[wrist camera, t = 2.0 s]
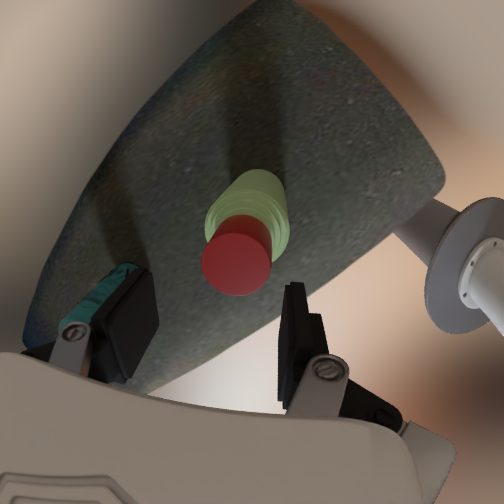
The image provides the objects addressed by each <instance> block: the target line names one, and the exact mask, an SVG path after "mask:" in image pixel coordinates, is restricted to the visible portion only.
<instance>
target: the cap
mask: <svg viewBox="0 0 504 504" xmlns="http://www.w3.org/2000/svg"><path fill="white" fill-rule="evenodd" d="M201 265H202V270H203V273H204V276H205V277H206V279H207V280H208V282H209V283H210V284H211V285H212V286H213V287H214V288H216V289H217V290H219V291H221V292H223V293H225V294H229V295H234V296H242V295H248V294H251V293H253V292H255V291H257V290H258V289H260V288H261V287H262V286H263V285H264V284H265V282H266V281H267V279H268V277H269V274H270V269H271V267H272V238H271V234H270V232H269V230H268V228H267V227H266V225H265V224H264V223H263V222H262V221H260V220H259V219H257V218H255V217H253V216H250V215H245V214H239V215H234V216H231V217H229V218H227V219H225V220H224V221H223V222H222V223H221V224H220V225H219V226H218V228H217V229H216V231H215V233H214V234H213V236H212V237H211V239H210V241H209V242H208V244H207V245H206V247H205V249H204V251H203V254H202V258H201Z"/></svg>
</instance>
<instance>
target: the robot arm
mask: <svg viewBox="0 0 504 504" xmlns="http://www.w3.org/2000/svg"><path fill="white" fill-rule="evenodd" d="M458 293H459V297H460V299H461V301H462V302H463V303H464V304H465V305H466V306H467V307H469V308H472V309H478V308H480V309H481V310H482V311H483V312H484V313H485V314H486V315H487V317H488V318H489V319H490V320H491V321H492V322H493V324H494V325H495V326H496V327H497V328H498V330H499V331H500V332H501V334H502V335H503V336H504V241H503V240H502V239H500V238H497V237H491V238H488V239H485V240H484V241H482V242H481V243H479V244H478V245H477V246H476V247H475V248H474V249H473V251H472V252H471V253H470V255H469V256H468V258H467V259H466V261H465V263H464V265H463V267H462V270H461V273H460V277H459V282H458ZM158 326H159V317H158V311H157V305H156V298H155V291H154V284H153V276H152V273H151V272H149V271H148V269H144V268H135V269H134V270H133V271H132V272H131V273H130V274H129V275H128V276H127V277H126V278H125V279H124V280H123V281H122V283H121V284H120V285H119V286H118V287H117V288H116V289H115V290H114V291H113V293H112V294H111V295H110V296H109V297H108V298H107V299H106V300H105V302H104V303H103V304H102V305H101V306H100V307H99V308H98V310H97V311H96V312H95V313H94V314H93V315H92V317H91V321H90V322H89V324H87V323H86V322H83V321H75V322H71V323H69V324H67V325H65V326H64V327H63V328H62V329H61V330H60V332H59V335H58V337H57V340H56V341H54V342H51V343H48V344H44V345H41V346H38V347H35V348H31V349H28V350H25V351H23V352H21V353H20V354H18V353H11V352H0V504H434V502H435V500H436V498H437V496H438V495H439V493H440V491H441V489H442V487H443V485H444V482H445V481H446V478H447V476H448V474H449V472H450V470H451V467H452V465H453V463H454V460H455V457H456V448H455V446H454V444H453V443H452V442H451V441H449V440H448V439H446V438H444V437H442V436H440V435H438V434H435V433H434V432H431V431H430V430H428V429H426V428H424V427H422V426H420V425H418V424H416V423H414V422H412V421H409V422H408V423H407V422H405V421H403V419H402V415H401V413H400V412H399V410H398V409H397V408H395V407H394V406H393V405H391V404H390V403H388V402H386V401H384V400H383V399H381V398H379V397H378V396H376V395H375V394H373V393H371V392H370V391H368V390H366V389H365V388H363V387H361V386H360V385H358V384H357V383H355V382H354V381H352V380H350V379H349V378H348V377H349V367H348V364H347V363H346V362H345V361H344V360H343V359H341V358H340V357H338V356H335V355H332V354H329V350H328V346H327V340H326V335H325V331H324V326H323V322H322V317H321V314H316V313H309V310H308V304H307V298H306V292H305V286H304V283H302V282H290V285H285V291H284V299H283V307H282V314H281V322H280V329H279V337H278V401H283V409H286V410H287V411H286V414H285V415H283V414H268V413H256V412H245V411H236V410H235V411H234V410H227V409H219V408H212V407H206V406H199V405H194V404H188V403H182V402H177V401H172V400H167V399H163V398H158V397H154V396H150V395H146V394H141V393H138V392H134V391H130V390H126V389H123V388H119V387H116V386H112V382H117V383H120V384H124V385H125V383H126V382H127V380H128V378H129V379H131V378H132V376H133V374H134V372H135V370H136V368H137V366H138V365H139V363H140V361H141V359H142V357H143V355H144V353H145V351H146V349H147V348H148V346H149V344H150V342H151V340H152V338H153V336H154V335H155V333H156V331H157V329H158Z"/></svg>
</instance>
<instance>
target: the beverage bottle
mask: <svg viewBox="0 0 504 504" xmlns="http://www.w3.org/2000/svg"><path fill="white" fill-rule="evenodd" d="M135 268H139V267H137V266H136V265H133V264H129V263H125V264H121V265H120V264H119V266H116V268H115V269H114V270H113V269H112V270H111V272H110V273H109V274H108V275H106V276H105V277H104V278H103V279H102V280H101V282H99V284H98V285H97V286H96V287H95V288H94V289H93V290H92V291H91V292H90V291H89V292H90V293H87V296H86V297H84V299H83V298H82V299H83V300H82V301H81V302H80V303H79V302H78V303H79V304H78V303H77V304H78V305H77V306H76V307H75V308H74V309H73V310H72V311H71V312H70V313H69V314H68V315H67V316H66V317H65V318H63V319H62V320H61V322H60V324H59V332H60V330H61V329H62V328H63V327H64V326H65V325H67V324H69V323H71V322H75V321H83V322H86V323H87V324H89V322H90V321H91V317H92V315H93V314H94V313H95V312H96V311H97V310H98V308H99V307H100V306H101V305H102V304H103V303H104V302H105V300H106V299H107V298H108V297H109V296H110V295H111V294H112V293H113V291H114V290H115V289H116V288H117V287H118V286H119V285H120V284H121V283H122V281H123V280H124V279H125V278H126V277H127V276H128V275H129V274H130V273H131V272H132V271H133V270H134V269H135Z"/></svg>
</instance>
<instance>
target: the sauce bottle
mask: <svg viewBox="0 0 504 504" xmlns="http://www.w3.org/2000/svg"><path fill="white" fill-rule="evenodd" d="M239 214H245V215H250V216H253V217H255V218H257V219H259V220H260V221H262V222H263V223H264V224H265V225H266V227H267V228H268V230H269V232H270V234H271V238H272V262H273V261H275V260H276V259H277V258H278V257H279V256H280V255H281V254H282V252H283V251H284V249H285V247H286V245H287V243H288V239H289V220H288V213H287V205H286V198H285V191H284V187H283V185H282V183H281V181H280V180H279V179H278V178H277V177H276V176H275V175H274V174H272V173H271V172H269V171H266V170H262V169H254V170H249V171H247V172H245V173H243V174H241V175H240V176H239V177H238V178H237V179H236V180H235V181H234V182H233V183H232V184H231V185H230V186H229V187H228V189H227V190H226V191H225V192H224V193H223V194H222V195H221V196H220V197H219V198H218V199H217V200H216V201H215V202H214V204H213V205H212V206H211V208H210V209H209V211H208V214H207V217H206V220H205V235H206V239H207V242H209V241H210V239H211V237H212V236H213V234H214V233H215V231H216V229H217V228H218V226H219V225H220V224H221V223H222V222H223V221H224V220H225V219H227V218H229V217H231V216H234V215H239Z"/></svg>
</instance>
